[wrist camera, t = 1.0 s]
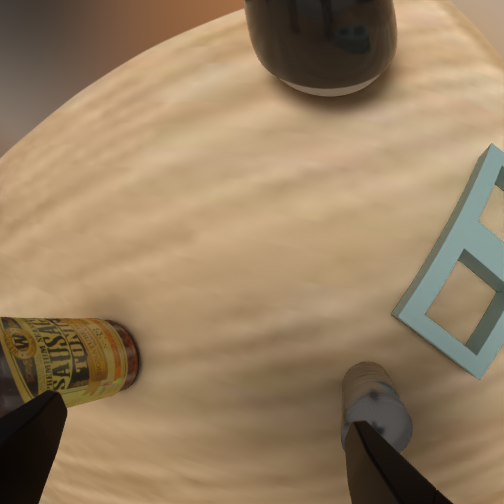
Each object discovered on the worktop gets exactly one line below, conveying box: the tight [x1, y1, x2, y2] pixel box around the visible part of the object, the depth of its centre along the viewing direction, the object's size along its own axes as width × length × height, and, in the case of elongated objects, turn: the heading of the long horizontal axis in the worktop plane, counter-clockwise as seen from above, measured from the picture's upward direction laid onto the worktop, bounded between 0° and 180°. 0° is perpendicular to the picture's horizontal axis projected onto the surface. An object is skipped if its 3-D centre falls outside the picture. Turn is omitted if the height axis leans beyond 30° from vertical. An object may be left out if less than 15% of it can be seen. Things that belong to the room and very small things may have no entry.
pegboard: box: [391, 143, 504, 380], centre depth 16 cm, size 7×13×2 cm, turn 143°
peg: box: [341, 362, 412, 453], centre depth 15 cm, size 3×3×8 cm
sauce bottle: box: [0, 317, 138, 418], centre depth 14 cm, size 7×6×20 cm
